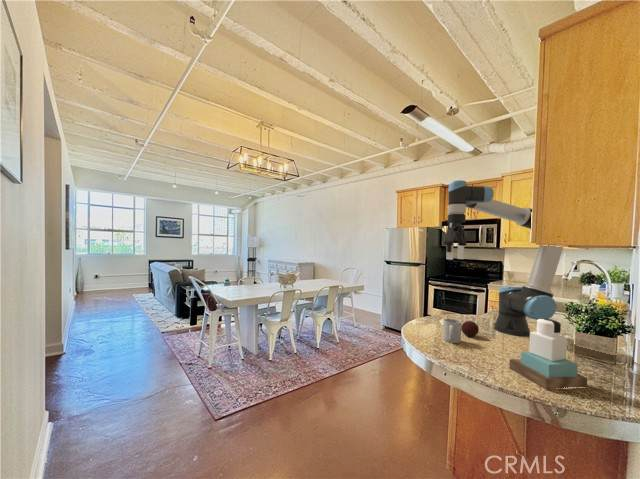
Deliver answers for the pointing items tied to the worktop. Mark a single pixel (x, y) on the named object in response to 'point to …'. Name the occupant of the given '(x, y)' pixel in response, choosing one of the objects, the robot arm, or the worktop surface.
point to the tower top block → (549, 366)
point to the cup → (452, 330)
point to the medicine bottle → (548, 341)
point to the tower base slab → (545, 381)
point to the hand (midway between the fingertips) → (455, 259)
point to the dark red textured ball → (469, 328)
